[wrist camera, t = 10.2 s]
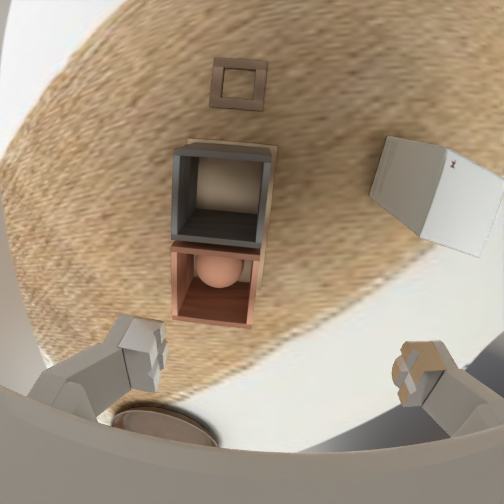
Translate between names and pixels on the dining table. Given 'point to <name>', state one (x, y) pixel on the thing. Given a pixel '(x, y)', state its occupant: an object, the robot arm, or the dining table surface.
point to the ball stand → (238, 65)
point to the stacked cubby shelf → (219, 226)
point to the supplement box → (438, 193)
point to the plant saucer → (163, 425)
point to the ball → (218, 270)
